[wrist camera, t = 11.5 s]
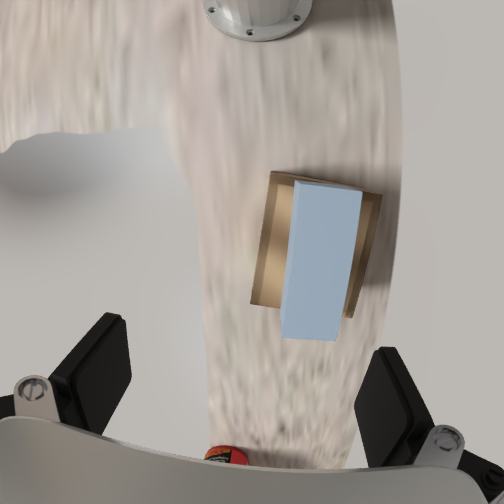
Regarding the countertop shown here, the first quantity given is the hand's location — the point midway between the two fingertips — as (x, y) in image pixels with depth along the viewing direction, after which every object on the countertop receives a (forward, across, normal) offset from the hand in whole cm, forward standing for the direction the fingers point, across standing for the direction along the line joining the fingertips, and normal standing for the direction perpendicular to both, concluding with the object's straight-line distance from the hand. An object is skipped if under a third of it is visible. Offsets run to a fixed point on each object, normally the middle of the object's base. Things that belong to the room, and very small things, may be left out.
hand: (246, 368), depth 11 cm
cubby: (+26, -5, +1) cm, 26 cm away
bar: (+18, -5, +1) cm, 18 cm away
